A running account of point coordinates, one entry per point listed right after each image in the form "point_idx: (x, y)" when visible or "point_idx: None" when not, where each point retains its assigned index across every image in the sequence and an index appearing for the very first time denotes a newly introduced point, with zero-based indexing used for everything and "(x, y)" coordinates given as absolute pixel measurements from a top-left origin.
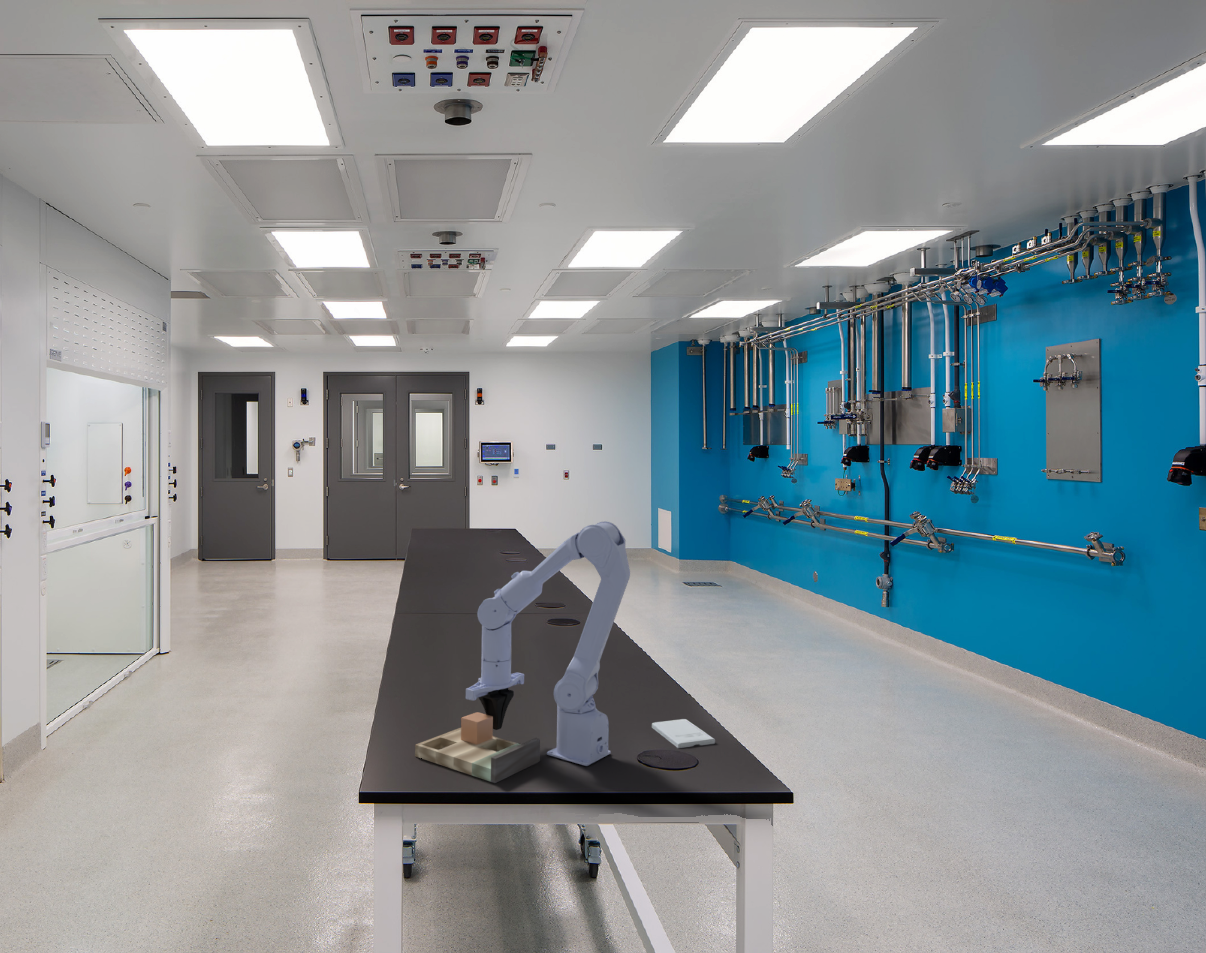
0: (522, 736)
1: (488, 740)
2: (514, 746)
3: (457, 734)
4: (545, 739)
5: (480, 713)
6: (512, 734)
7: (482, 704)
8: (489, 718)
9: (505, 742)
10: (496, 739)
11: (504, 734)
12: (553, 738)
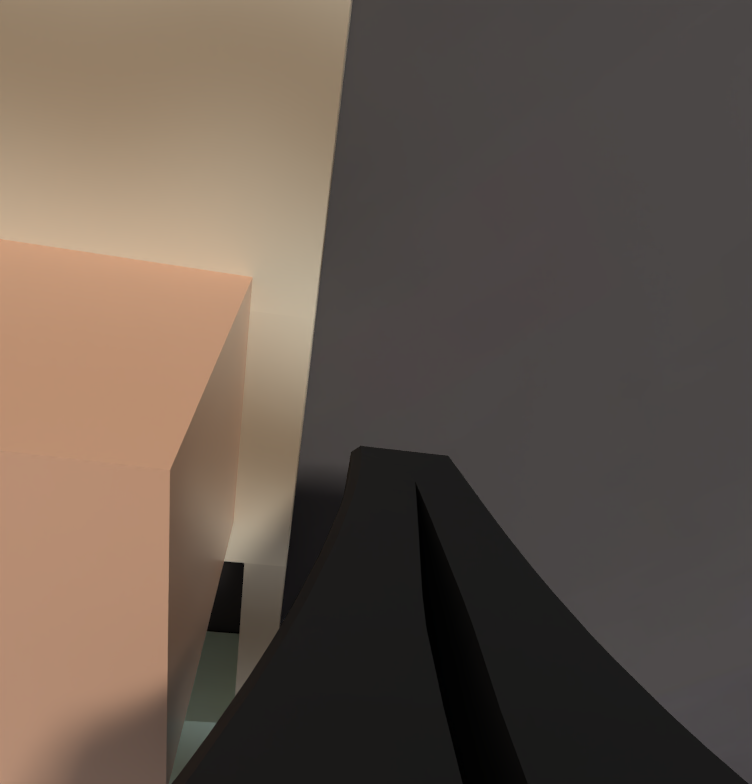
0: (692, 481)
1: None
2: (188, 742)
3: (17, 8)
4: (672, 639)
5: (144, 578)
6: (725, 381)
7: (183, 775)
8: (77, 776)
9: (241, 640)
10: (237, 561)
11: (704, 311)
12: (709, 668)
